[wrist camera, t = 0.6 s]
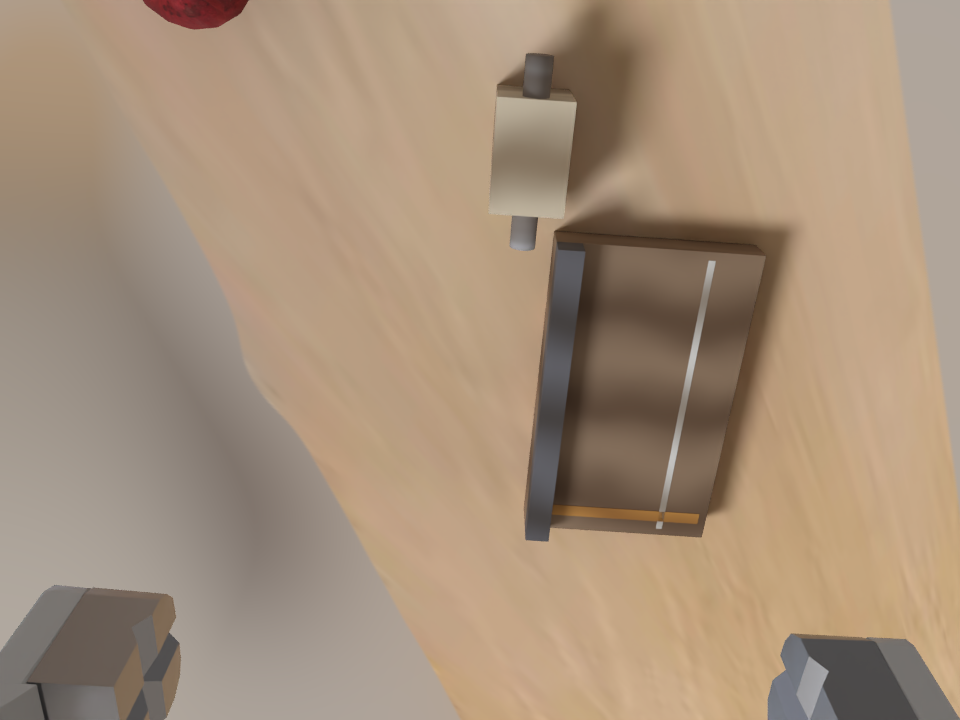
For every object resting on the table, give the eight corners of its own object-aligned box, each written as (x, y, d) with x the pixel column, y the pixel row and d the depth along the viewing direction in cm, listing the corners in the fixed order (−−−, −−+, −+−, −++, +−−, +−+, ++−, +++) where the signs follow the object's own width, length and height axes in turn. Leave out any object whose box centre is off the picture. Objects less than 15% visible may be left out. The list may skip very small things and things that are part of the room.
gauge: (499, 45, 44) (500, 54, 40) (573, 51, 44) (581, 60, 40) (486, 225, 49) (486, 249, 45) (554, 230, 49) (559, 254, 45)
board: (554, 231, 49) (558, 249, 45) (756, 245, 49) (774, 264, 46) (523, 508, 57) (525, 539, 54) (695, 519, 57) (706, 551, 54)
